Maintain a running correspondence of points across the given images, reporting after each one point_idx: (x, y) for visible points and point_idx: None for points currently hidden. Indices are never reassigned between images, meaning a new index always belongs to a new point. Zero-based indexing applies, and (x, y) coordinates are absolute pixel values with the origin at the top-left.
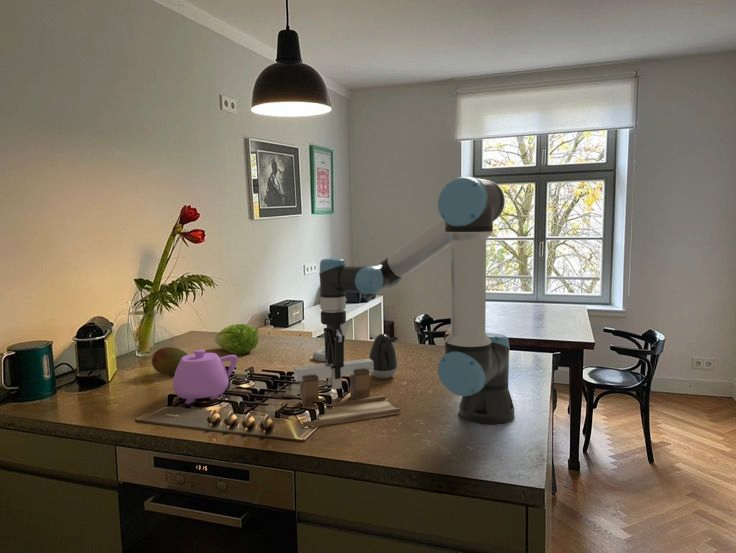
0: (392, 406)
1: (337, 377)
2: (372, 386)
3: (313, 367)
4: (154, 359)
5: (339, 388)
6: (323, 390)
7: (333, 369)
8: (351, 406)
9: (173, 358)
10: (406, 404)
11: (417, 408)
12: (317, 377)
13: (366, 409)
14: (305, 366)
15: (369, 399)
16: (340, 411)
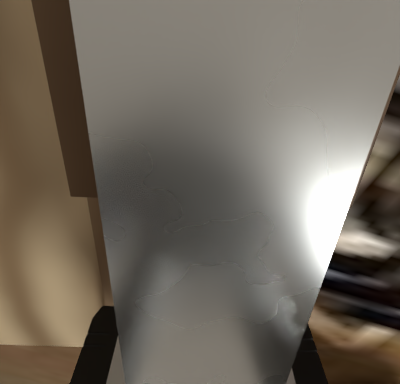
0: (39, 343)
1: (95, 325)
2: None
3: (156, 240)
4: None
5: None
6: (389, 201)
7: (109, 380)
8: (77, 237)
9: None
10: (65, 372)
11: (21, 380)
12: (72, 184)
13: (24, 272)
14: (320, 124)
15: None
16: (16, 174)
